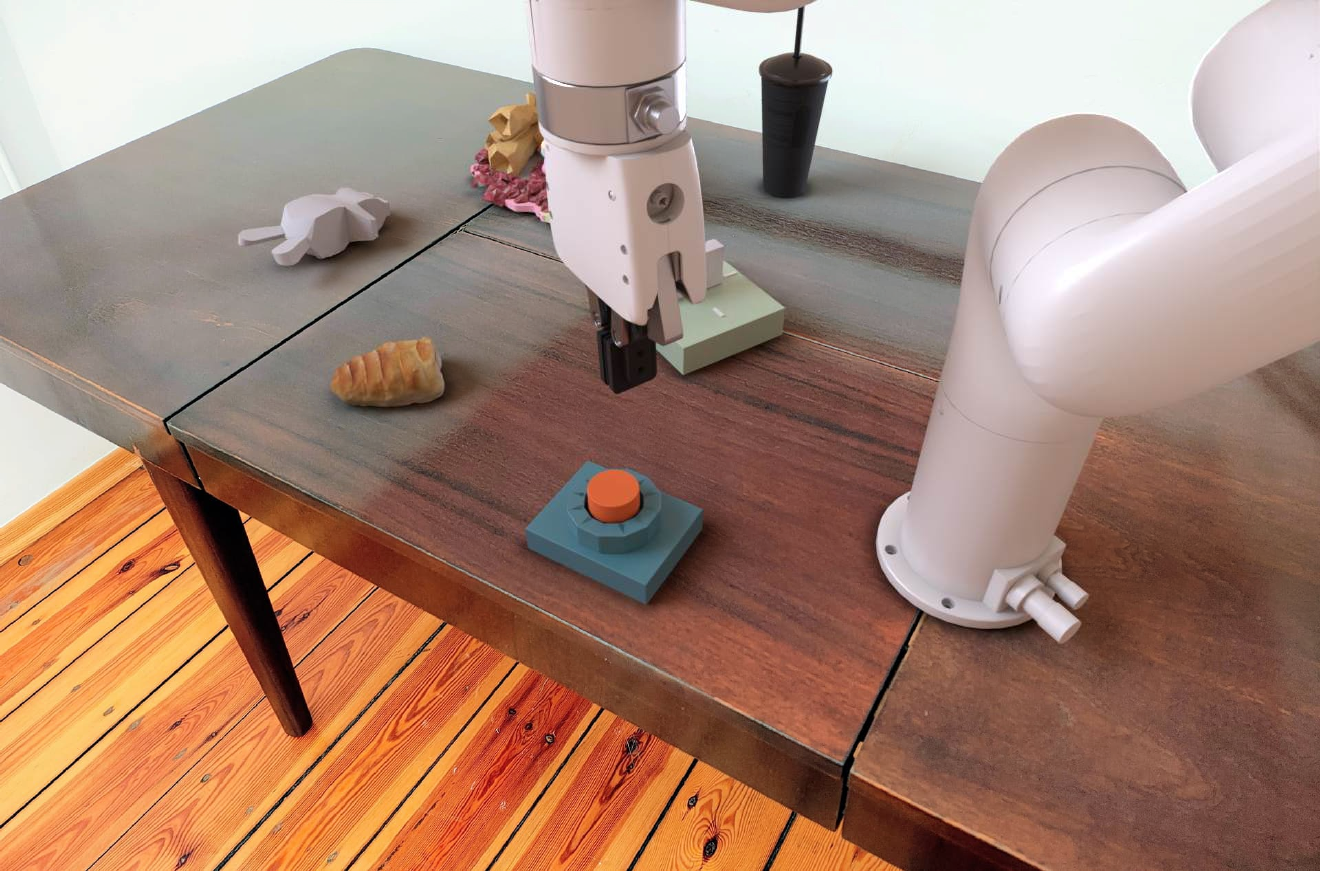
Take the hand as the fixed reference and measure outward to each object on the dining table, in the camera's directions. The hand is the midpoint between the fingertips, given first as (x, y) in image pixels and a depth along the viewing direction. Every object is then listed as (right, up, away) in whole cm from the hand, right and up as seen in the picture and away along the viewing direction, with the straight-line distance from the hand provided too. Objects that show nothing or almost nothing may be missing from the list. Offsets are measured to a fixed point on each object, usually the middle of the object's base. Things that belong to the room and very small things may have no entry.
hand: (629, 379), depth 59 cm
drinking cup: (+16, +25, +48) cm, 56 cm away
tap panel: (+5, +8, +29) cm, 31 cm away
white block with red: (+5, +10, +27) cm, 29 cm away
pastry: (-21, +1, +22) cm, 30 cm away
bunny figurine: (-33, +16, +39) cm, 53 cm away
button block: (-1, -11, +9) cm, 14 cm away
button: (-1, -8, +7) cm, 11 cm away
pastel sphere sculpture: (-7, +27, +50) cm, 57 cm away
